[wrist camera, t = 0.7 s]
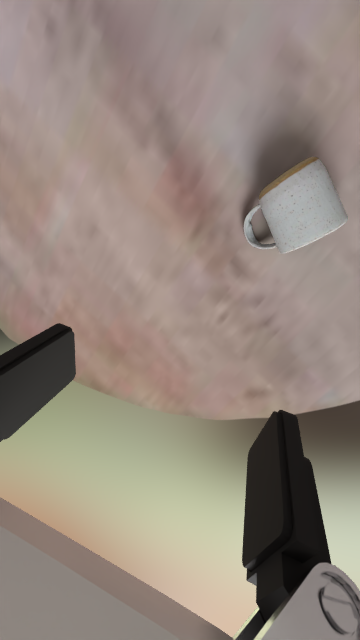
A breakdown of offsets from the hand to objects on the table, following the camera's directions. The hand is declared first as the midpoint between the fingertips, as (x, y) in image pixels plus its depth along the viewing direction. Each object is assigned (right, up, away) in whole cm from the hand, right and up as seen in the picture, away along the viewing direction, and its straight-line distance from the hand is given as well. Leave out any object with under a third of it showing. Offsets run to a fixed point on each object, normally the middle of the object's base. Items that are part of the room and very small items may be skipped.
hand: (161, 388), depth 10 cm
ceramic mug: (+15, +17, +21) cm, 31 cm away
